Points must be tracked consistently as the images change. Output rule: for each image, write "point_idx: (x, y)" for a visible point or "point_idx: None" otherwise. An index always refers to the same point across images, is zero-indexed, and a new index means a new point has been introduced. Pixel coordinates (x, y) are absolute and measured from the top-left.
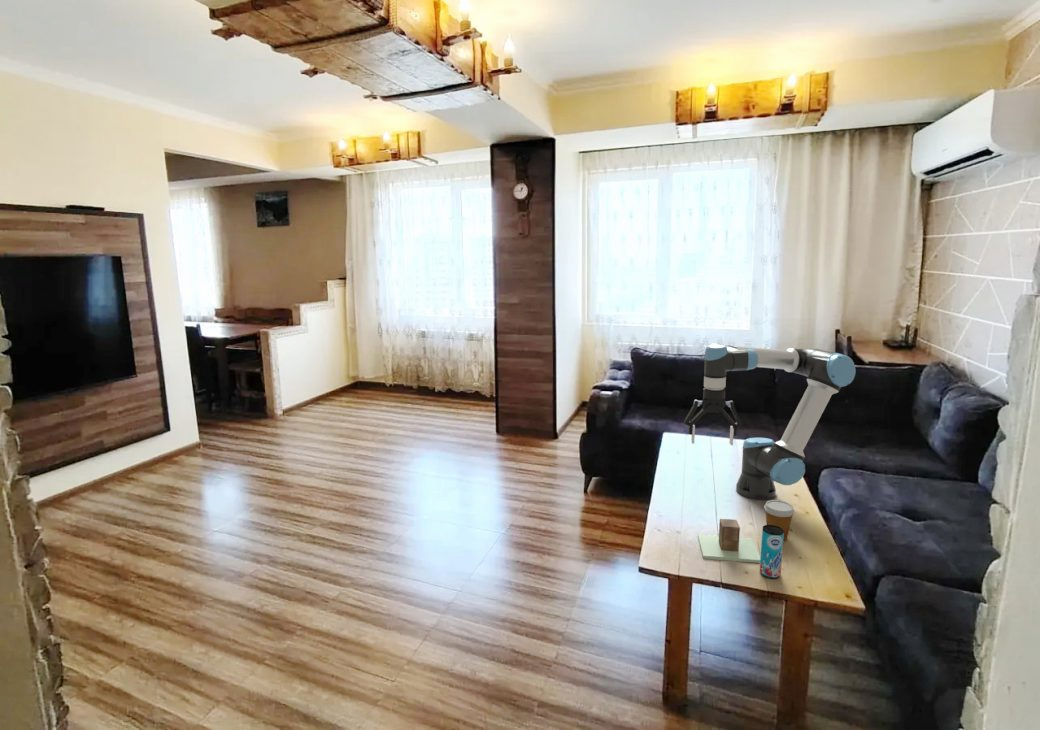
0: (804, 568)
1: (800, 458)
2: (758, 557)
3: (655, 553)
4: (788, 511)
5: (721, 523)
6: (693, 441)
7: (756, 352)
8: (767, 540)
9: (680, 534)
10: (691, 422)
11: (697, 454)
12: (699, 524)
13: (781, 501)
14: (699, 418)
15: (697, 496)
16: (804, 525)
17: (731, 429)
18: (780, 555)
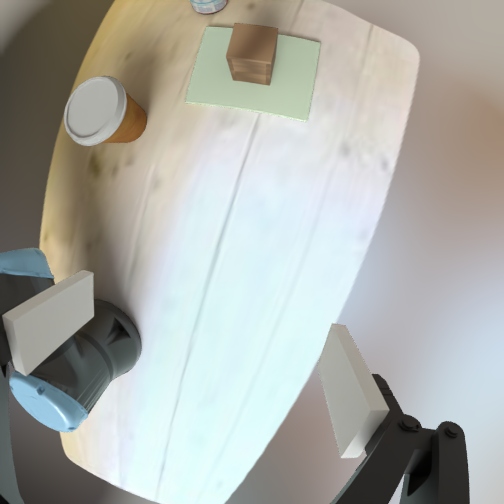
0: (142, 26)
1: None
2: (208, 34)
3: (405, 78)
4: (86, 80)
5: (275, 40)
6: (340, 332)
7: None
8: None
9: (343, 138)
10: (416, 444)
11: (186, 475)
12: (282, 182)
13: (74, 135)
14: (347, 497)
15: (237, 332)
16: (64, 181)
17: (21, 318)
18: None
